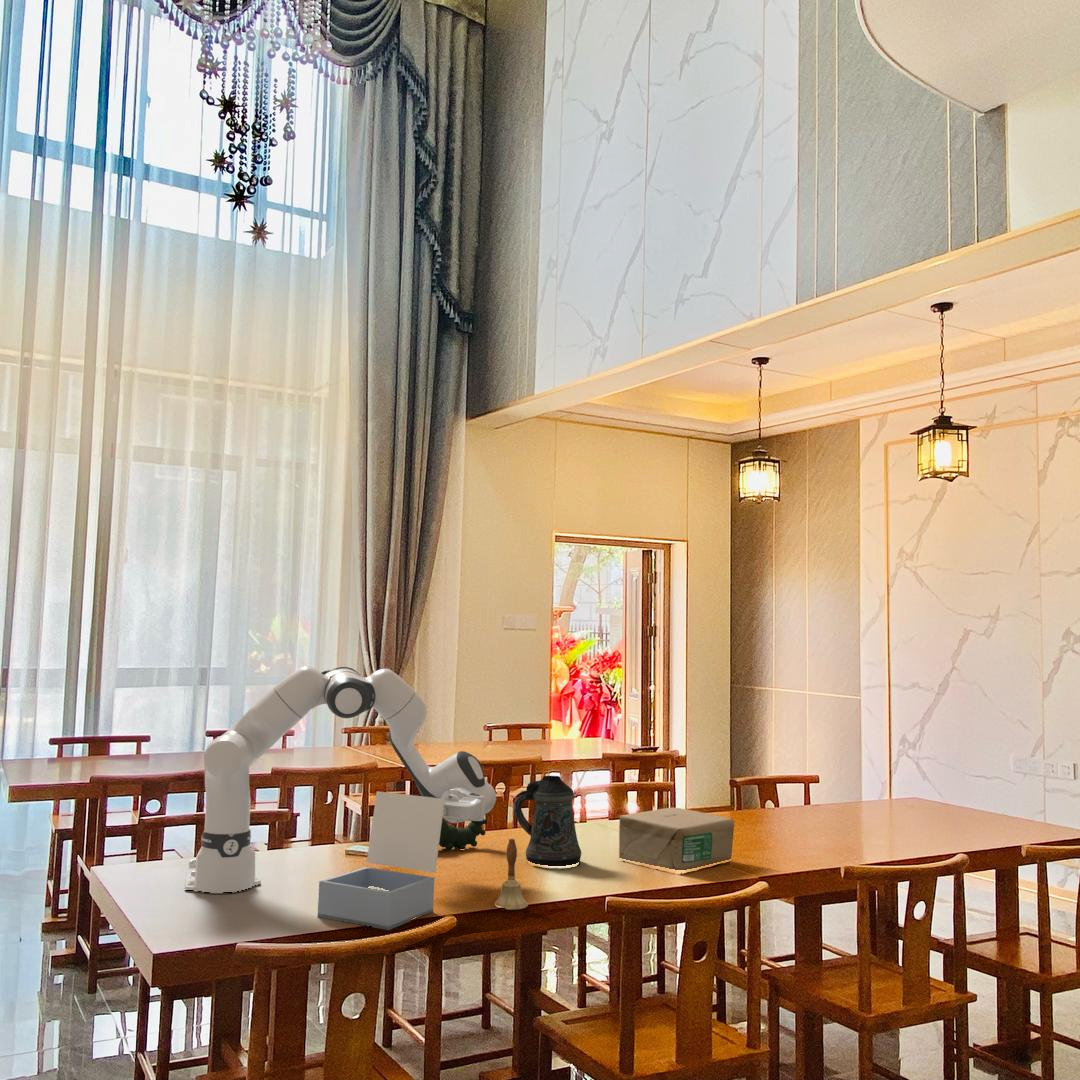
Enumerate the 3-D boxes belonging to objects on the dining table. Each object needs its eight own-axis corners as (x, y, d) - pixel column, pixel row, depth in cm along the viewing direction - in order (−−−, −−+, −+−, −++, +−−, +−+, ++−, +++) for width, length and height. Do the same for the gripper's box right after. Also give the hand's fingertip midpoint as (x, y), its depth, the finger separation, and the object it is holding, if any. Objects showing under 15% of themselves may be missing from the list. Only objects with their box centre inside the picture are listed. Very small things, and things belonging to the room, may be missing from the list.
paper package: (681, 876, 284) (681, 826, 286) (613, 861, 303) (614, 813, 304) (737, 864, 303) (737, 817, 304) (670, 850, 321) (670, 805, 323)
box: (365, 900, 249) (366, 866, 250) (433, 911, 240) (434, 877, 240) (317, 916, 233) (319, 881, 233) (388, 930, 224) (390, 893, 224)
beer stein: (590, 867, 292) (592, 779, 294) (528, 871, 285) (530, 781, 287) (567, 855, 307) (569, 772, 310) (507, 859, 300) (510, 774, 302)
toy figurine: (475, 850, 320) (401, 848, 309) (482, 789, 323) (408, 785, 312) (487, 856, 312) (411, 854, 301) (494, 793, 314) (419, 789, 303)
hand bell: (494, 910, 243) (496, 842, 245) (493, 901, 251) (495, 835, 253) (529, 910, 244) (530, 842, 245) (526, 901, 252) (528, 836, 254)
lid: (366, 862, 249) (369, 862, 250) (433, 872, 240) (435, 872, 241) (376, 791, 253) (379, 791, 254) (442, 798, 244) (445, 798, 245)
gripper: (424, 790, 273) (394, 796, 261) (489, 796, 264) (461, 803, 252) (423, 814, 273) (393, 821, 260) (489, 820, 263) (461, 829, 251)
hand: (427, 812), depth 256 cm, fingers closed
